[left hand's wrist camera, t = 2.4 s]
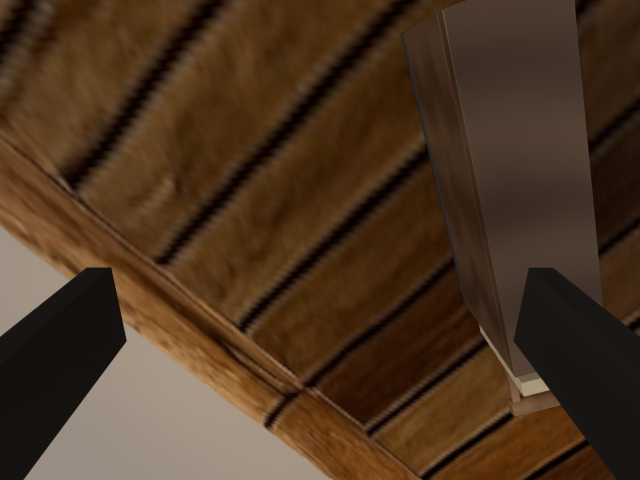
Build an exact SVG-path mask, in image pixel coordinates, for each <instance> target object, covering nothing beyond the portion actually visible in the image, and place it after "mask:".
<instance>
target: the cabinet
mask: <svg viewBox="0 0 640 480" xmlns="http://www.w3.org/2000/svg"><path fill="white" fill-rule="evenodd" d="M401 38H402V43H403V47H404V51H405V55H406V59H407V64H408V68H409V72H410V76H411V81H412V85H413V89H414V93H415V98H416V102H417V106H418V110H419V114H420V119H421V123H422V127H423V131H424V136H425V140H426V144H427V148H428V153H429V157H430V161H431V165H432V169H433V174H434V178H435V182H436V186H437V191H438V195H439V199H440V203H441V208H442V212H443V216H444V220H445V224H446V229H447V233H448V237H449V241H450V246H451V250H452V254H453V258H454V263H455V267H456V271H457V275H458V279H459V284H460V288H461V292H462V296H463V301H464V303H465V305H466V306H467V307H468V309H469V310H470V311H471V313H472V314H473V316H474V317H475V319H476V320H477V322H478V323H479V325H480V326H481V328H482V329H483V331H484V332H485V334H486V335H487V337H488V338H489V340H490V341H491V342H492V344H493V345H494V347H495V348H496V350H497V351H498V353H499V354H500V356H501V357H502V359H503V360H504V362H505V363H506V365H507V366H508V368H509V369H510V371H511V372H512V374H513V375H514V376H515V377H520V376H523V375H527V374H531V373H535V372H536V371H535V370H534V368H533V367H532V366H531V364H530V363H529V361H528V360H527V359H526V357H525V356H524V355H523V353H522V352H521V351H520V349H519V348H518V347H517V345H516V344H515V343H514V341H513V340H514V335H515V331H516V326H517V321H518V316H519V312H520V307H521V302H522V297H523V293H524V288H525V283H526V278H527V274H528V269H529V268H554V269H556V270H557V271H558V272H559V273H561V274H562V275H563V276H564V277H566V278H567V279H568V280H569V281H571V282H572V283H573V284H574V285H576V286H577V287H578V288H579V289H581V290H582V291H583V292H584V293H586V294H587V295H588V296H589V297H591V298H592V299H593V300H594V301H596V302H597V303H598V304H599V305H601V306H602V307H603V301H602V291H601V280H600V269H599V259H598V248H597V237H596V227H595V216H594V206H593V195H592V184H591V174H590V163H589V152H588V142H587V131H586V120H585V110H584V99H583V88H582V78H581V67H580V57H579V46H578V35H577V25H576V14H575V3H574V0H465V1H462V2H459V3H456V4H454V5H451V6H448V7H446V8H443V9H441V10H440V11H438V12H436V13H435V14H433V15H431V16H430V17H428V18H426V19H425V20H423V21H422V22H420V23H418V24H417V25H415V26H413V27H412V28H410V29H408V30H407V31H405V32H403V33H401Z"/></svg>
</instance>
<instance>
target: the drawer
mask: <svg viewBox="0 0 640 480" xmlns="http://www.w3.org/2000/svg"><path fill="white" fill-rule="evenodd" d="M480 330H481V333H482V334H483V336H484V337H485V339H486V340H487V342H488V343H489V345H490V346H491V348H492V349H493V351H494V352H495V354H496V355H497V357H498V358H499V360H500V361H501V363H502V364H503V366H504V369H505V374H506V379H507V383H508V388H509V393H510V398H509V399H507V402H508V405H509V408H510V410H511V412H512V414H513V415H514V416H519V415H523V414H527V413H531V412H535V411H539V410H543V409H547V408H551V407H555V406H559V405H561V404H560V403H559V402H558V400H557V399H556V398H555V396H554V395H553V394H552V392H551V391H550V390H549V388H548V387H547V386H546V384H545V383H544V382H543V380H542V379H541V378H540V376H539V375H538V374H537V372H535V373H531V374H527V375H523V376H520V377H515V376H514V375H513V374H512V372H511V371H510V369H509V368H508V366H507V365H506V363H505V362H504V360H503V359H502V357H501V356H500V354H499V353H498V351H497V350H496V348H495V347H494V345H493V344H492V342H491V341H490V340H489V338H488V337H487V335H486V334H485V332H484V331H483V329H482V328H481V326H480ZM518 388H519V390H520V391H521V393H522V395H521V396H520V395H519V390H518Z"/></svg>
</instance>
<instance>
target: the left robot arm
mask: <svg viewBox="0 0 640 480" xmlns="http://www.w3.org/2000/svg"><path fill="white" fill-rule="evenodd" d="M126 341H127V340H126V336H125V331H124V326H123V321H122V316H121V312H120V307H119V302H118V297H117V293H116V288H115V283H114V278H113V274H112V269H111V268H86V269H84V270H83V271H82V272H81V273H79V274H78V275H77V276H76V277H74V278H73V279H72V280H71V281H69V282H68V283H67V284H66V285H64V286H63V287H62V288H61V289H59V290H58V291H57V292H56V293H54V294H53V295H52V296H51V297H49V298H48V299H47V300H46V301H44V302H43V303H42V304H41V305H39V306H38V307H37V308H36V309H34V310H33V311H32V312H31V313H29V314H28V315H27V316H26V317H24V318H23V319H22V320H21V321H19V322H18V323H17V324H16V325H14V326H13V327H12V328H11V329H9V330H8V331H7V332H6V333H4V334H3V335H2V336H1V337H0V480H24V478H25V477H26V476H27V474H28V473H29V472H30V470H31V469H32V468H33V466H34V465H35V464H36V462H37V461H38V460H39V458H40V457H41V456H42V454H43V453H44V451H45V450H46V449H47V447H48V446H49V445H50V443H51V442H52V441H53V439H54V438H55V437H56V435H57V434H58V433H59V431H60V430H61V429H62V427H63V426H64V425H65V423H66V422H67V421H68V419H69V418H70V417H71V415H72V414H73V412H74V411H75V410H76V409H77V407H78V406H79V404H80V403H81V402H82V400H83V399H84V398H85V396H86V395H87V394H88V392H89V391H90V390H91V388H92V387H93V386H94V384H95V383H96V382H97V380H98V379H99V378H100V376H101V375H102V374H103V372H104V371H105V370H106V368H107V367H108V366H109V364H110V363H111V361H112V360H113V359H114V357H115V356H116V355H117V353H118V352H119V351H120V349H121V348H122V347H123V345H124V344H125V343H126ZM513 341H514V343H515V344H516V345H517V347H518V348H519V349H520V351H521V352H522V353H523V355H524V356H525V357H526V359H527V360H528V361H529V363H530V364H531V366H532V367H533V368H534V370H535V371H536V372H537V374H538V375H539V376H540V378H541V379H542V380H543V382H544V383H545V384H546V386H547V387H548V388H549V390H550V391H551V392H552V394H553V395H554V396H555V398H556V399H557V400H558V402H559V403H560V404H561V406H562V407H563V409H564V410H565V411H566V413H567V414H568V415H569V417H570V418H571V419H572V421H573V422H574V423H575V425H576V426H577V427H578V429H579V430H580V431H581V433H582V434H583V435H584V437H585V438H586V439H587V441H588V442H589V443H590V445H591V446H592V447H593V449H594V450H595V451H596V453H597V454H598V456H599V457H600V458H601V460H602V461H603V462H604V464H605V465H606V466H607V468H608V469H609V470H610V472H611V473H612V474H613V476H614V477H615V478H616V480H640V337H639V336H638V335H637V334H636V333H634V332H633V331H632V330H631V329H629V328H628V327H627V326H626V325H624V324H623V323H622V322H621V321H619V320H618V319H617V318H616V317H614V316H613V315H612V314H611V313H609V312H608V311H607V310H606V309H604V308H603V307H602V306H601V305H599V304H598V303H597V302H596V301H594V300H593V299H592V298H591V297H589V296H588V295H587V294H586V293H584V292H583V291H582V290H581V289H579V288H578V287H577V286H576V285H574V284H573V283H572V282H571V281H569V280H568V279H567V278H566V277H564V276H563V275H562V274H561V273H559V272H558V271H557V270H556V269H554V268H529V269H528V274H527V278H526V283H525V288H524V293H523V297H522V302H521V307H520V312H519V316H518V321H517V326H516V331H515V335H514V340H513Z"/></svg>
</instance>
